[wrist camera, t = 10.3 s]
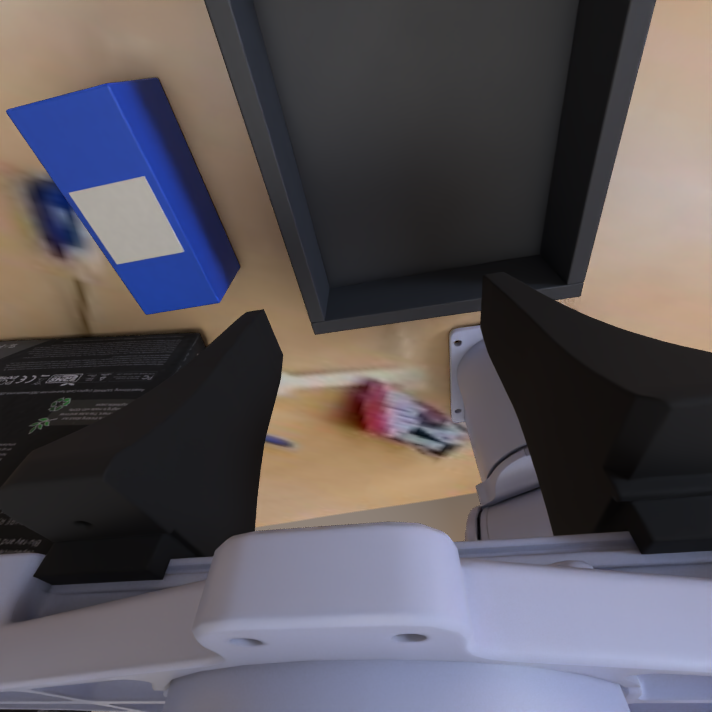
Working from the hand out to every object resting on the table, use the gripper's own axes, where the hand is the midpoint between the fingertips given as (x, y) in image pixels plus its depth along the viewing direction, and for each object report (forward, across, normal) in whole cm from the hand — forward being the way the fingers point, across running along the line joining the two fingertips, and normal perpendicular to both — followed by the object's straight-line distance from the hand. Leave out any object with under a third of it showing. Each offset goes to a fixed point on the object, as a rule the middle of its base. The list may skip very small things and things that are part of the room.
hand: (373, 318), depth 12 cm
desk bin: (+9, -3, -4) cm, 11 cm away
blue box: (+9, +10, -3) cm, 14 cm away
